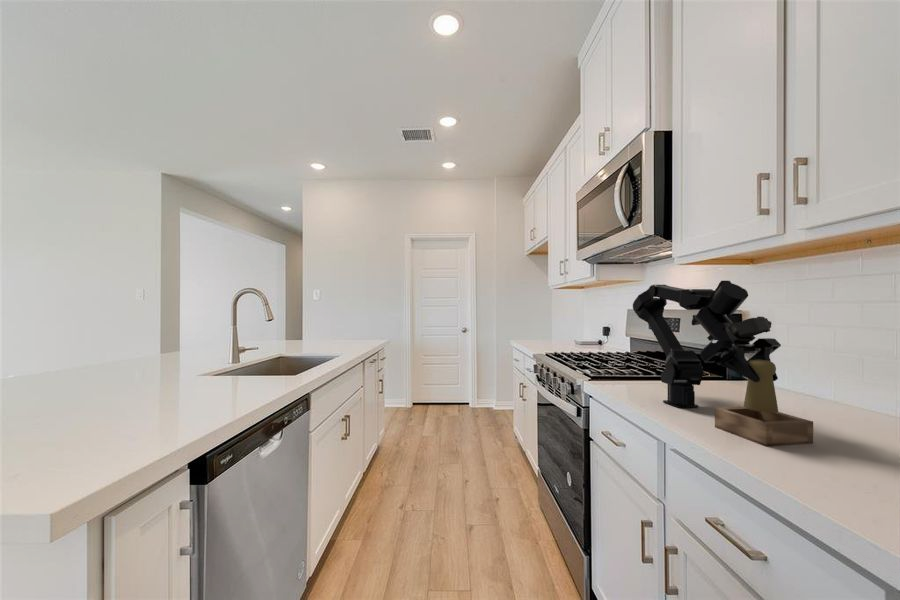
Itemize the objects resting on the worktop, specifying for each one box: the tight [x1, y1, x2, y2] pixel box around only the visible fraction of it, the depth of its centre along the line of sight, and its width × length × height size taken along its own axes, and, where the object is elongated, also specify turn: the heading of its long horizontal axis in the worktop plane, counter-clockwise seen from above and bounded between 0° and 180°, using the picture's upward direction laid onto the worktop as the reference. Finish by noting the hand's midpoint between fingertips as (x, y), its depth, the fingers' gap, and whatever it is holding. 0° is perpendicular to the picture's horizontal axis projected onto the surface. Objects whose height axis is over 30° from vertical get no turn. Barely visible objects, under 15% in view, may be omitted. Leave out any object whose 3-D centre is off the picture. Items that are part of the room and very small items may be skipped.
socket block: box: [714, 406, 814, 447], centre depth 83 cm, size 12×12×4 cm
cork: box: [743, 359, 779, 413], centre depth 83 cm, size 6×6×11 cm
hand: (767, 380), depth 81 cm, fingers closed on cork, 5 cm apart
